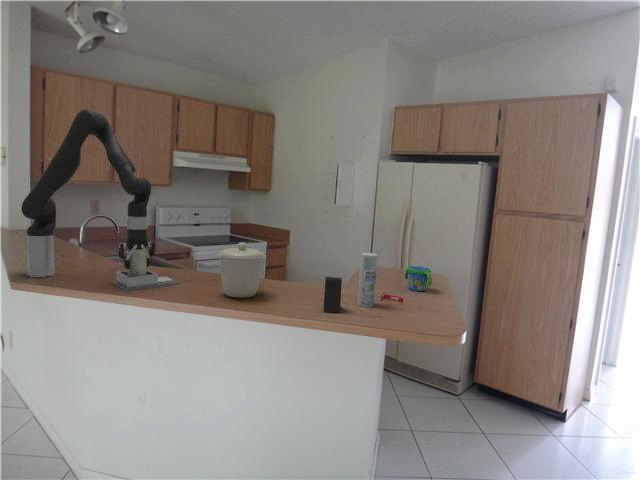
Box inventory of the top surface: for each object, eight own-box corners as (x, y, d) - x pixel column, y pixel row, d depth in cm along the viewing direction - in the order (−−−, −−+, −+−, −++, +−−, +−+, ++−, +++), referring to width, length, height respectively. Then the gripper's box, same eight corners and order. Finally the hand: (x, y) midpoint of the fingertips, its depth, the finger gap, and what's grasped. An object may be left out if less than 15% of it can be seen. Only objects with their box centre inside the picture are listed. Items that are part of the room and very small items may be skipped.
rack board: (126, 291, 164) (126, 278, 163) (112, 283, 174) (112, 271, 173) (179, 284, 179) (179, 272, 179) (164, 277, 189) (164, 266, 188)
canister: (223, 302, 157) (225, 246, 154) (212, 290, 173) (213, 239, 170) (269, 299, 165) (272, 245, 162) (254, 287, 181) (256, 238, 178)
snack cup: (437, 293, 191) (439, 271, 190) (417, 294, 187) (419, 272, 185) (416, 285, 205) (418, 264, 204) (397, 286, 201) (399, 265, 200)
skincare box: (147, 277, 175) (147, 248, 174) (141, 280, 171) (142, 250, 169) (132, 276, 176) (132, 247, 174) (126, 278, 171) (126, 248, 170)
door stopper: (323, 305, 162) (325, 274, 160) (339, 306, 162) (341, 275, 160) (323, 312, 153) (325, 279, 151) (339, 313, 153) (342, 280, 151)
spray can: (362, 307, 162) (366, 255, 159) (354, 302, 168) (357, 252, 165) (376, 306, 165) (380, 255, 162) (368, 301, 171) (372, 252, 168)
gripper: (150, 226, 178) (150, 264, 180) (115, 226, 168) (114, 267, 170) (158, 228, 173) (158, 268, 175) (122, 229, 163) (122, 271, 165)
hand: (136, 267), depth 173 cm, fingers closed on skincare box, 7 cm apart
